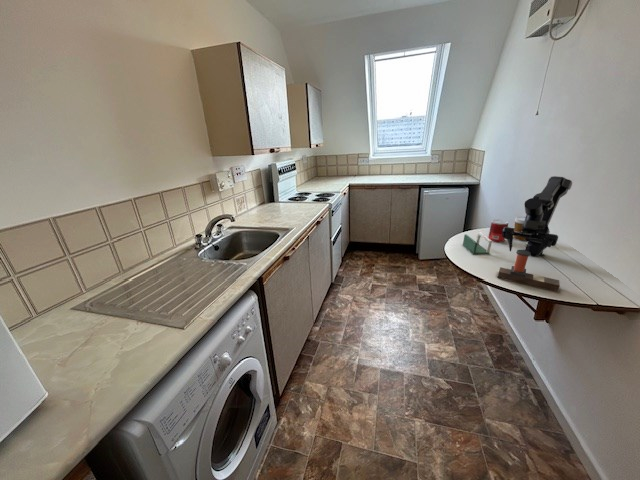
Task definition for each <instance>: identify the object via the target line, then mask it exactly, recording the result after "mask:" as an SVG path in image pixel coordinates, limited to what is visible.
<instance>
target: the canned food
mask: <svg viewBox="0 0 640 480" xmlns="http://www.w3.org/2000/svg"><path fill="white" fill-rule="evenodd" d="M504 227H509V221H507V220H504V219H492V220H491V223H490V227H489V232H488V236H487V238H489V239H490V240H492V242H495V243H502V242H504V241H505V240H506V239H505V237H502V231H503V228H504Z"/></svg>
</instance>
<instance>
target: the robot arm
mask: <svg viewBox="0 0 640 480" xmlns="http://www.w3.org/2000/svg"><path fill="white" fill-rule="evenodd" d="M572 186H573V180H571V179H569V178H567V177H564V176H556V175H554V176H550V177H549V178H548V180H547V183H546V185H545V186H544V188H543V189H542V191H541V192H539V193H536V194H534V196H533V197H531V198H528V199H526V200H525V201H524V204H523V205H524V212H525V214H526V215H525V217H526V218H525V221H524V224H523V226H522V229H521V232H517V231H514V227H511V226H508V227H504V228H503V231H502V237H505V240H507V243H508V248H509V252H512V249H513V241H514V238H513V237H514V236H520V237H525V238H526V240H525V242H527V244H526V245H525V248H524V250H526V251H529V252H530V253H531V254H530V256H531V257H536V258H537V257H545V254H544V250H546V249H547V248H551V247H555V246H556V245H557V242H558V241H559V235H558V234H554V233H551V231H550V228H549V225H550V222H551V220H552V218H553V215H554V213H555V211H556V208H557V206H558V205H559V202H560V200H561V198H562V197H564V196H566V195H567V193H568V192H569V191H570V190H571V188H572Z"/></svg>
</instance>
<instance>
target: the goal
mask: <svg viewBox="0 0 640 480" xmlns="http://www.w3.org/2000/svg"><path fill="white" fill-rule="evenodd" d="M481 238H482V239H484V240H485V241H486V242H487V246H486V248H484V246H482V245H481V244H480V240H481ZM492 243H493V241H492V240H490V239H489V238H488V236H486V235H485V234H483V233H482V232H480V231H479V232H477V235H476V239H473V238H472V237H471V236H469V235H468V234H465V233H464V236H463V242H462V246H463V247H464V248H465V249H466V250H468V251H469V252H470V253H471V254H472V255H490V253H491V247H492Z"/></svg>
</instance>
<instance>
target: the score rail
mask: <svg viewBox="0 0 640 480" xmlns="http://www.w3.org/2000/svg"><path fill="white" fill-rule="evenodd" d="M510 273H511V268H506V267H499V270H498V274H497V279H500V280H506V281H508V282H509V281H510V282H513V283H518V284H521V285H525V286H526V285H527V286H530V287H533V288H534V287H535V288H538V289H542V290H547V291H551V292H555V293H558V292H559V289H560V287H561V285H560V283H561V282H560V280H559V279H556V278H551V277H546V276H543V275H540V274H534V273H529V272H526V276H525V278H523V277H519V276H515V275H510Z"/></svg>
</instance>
